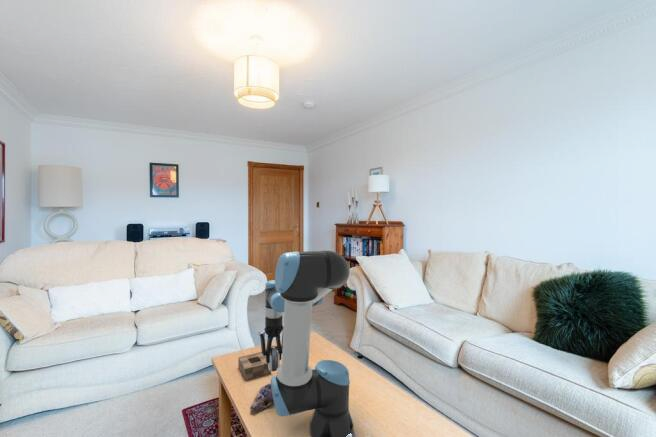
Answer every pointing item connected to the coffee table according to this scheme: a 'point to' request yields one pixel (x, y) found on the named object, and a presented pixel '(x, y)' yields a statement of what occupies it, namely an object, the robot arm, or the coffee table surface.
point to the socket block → (253, 365)
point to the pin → (274, 357)
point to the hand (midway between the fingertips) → (273, 368)
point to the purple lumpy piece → (263, 398)
